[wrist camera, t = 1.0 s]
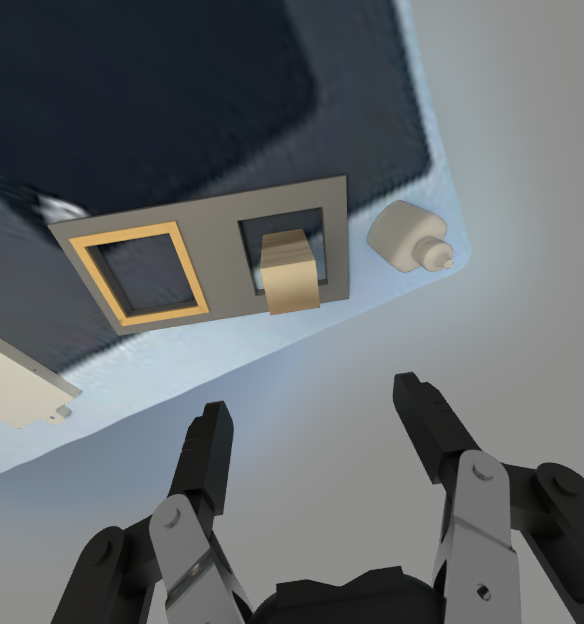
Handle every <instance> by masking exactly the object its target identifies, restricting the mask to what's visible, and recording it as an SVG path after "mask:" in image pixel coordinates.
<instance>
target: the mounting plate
mask: <svg viewBox="0 0 584 624" xmlns="http://www.w3.org/2000/svg"><path fill="white" fill-rule="evenodd" d="M81 391H82V390H80V389H79V388H77V387H75V386H74V385H72V384H71V383H69V382H68V381H66V380H64V379H63V378H61V377H60V376H58V375H57V374H55V373H53V372H52V371H50V370H49V369H47V368H46V367H44V366H42V365H41V364H39V363H38V362H36V361H35V360H33V359H31V358H30V357H28V356H27V355H25V354H24V353H22V352H20V351H19V350H17V349H16V348H14V347H13V346H11V345H9V344H8V343H6V342H5V341H3V340H2V339H0V420H2V421H4V422H6V423H8V424H10V425H12V426H14V427H16V428H18V429H20V428H22V427H24V426H25V425H27V424H29V423H31V422H33V421H35V420H37V419H41V420H45V421H47V422H49V423H51V424H59V423H61V422H63V421H64V420H65V419H66V418H67V417H68V415H69V414H70V413H71V409H70V408H68V407H66V406H65V405H64V404H66V403H68V402H70V401H72V400H73V399H75V398H76V397H77V396H78V394H79V393H80V392H81Z"/></svg>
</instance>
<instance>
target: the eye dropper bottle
mask: <svg viewBox="0 0 584 624" xmlns="http://www.w3.org/2000/svg"><path fill="white" fill-rule="evenodd" d="M446 231H447V224H446V222H445V221H444V220H443V219H442V218H440V217H439V216H438V215H436V214H435V213H433V212H430V211H428V210H425V209H423V208H420V207H417V206H415V205H412V204H409V203H407V202H404V201H401V200H399V201H396V202H394V203H392V204H391V205H390V206H388V207H387V208H386V209H385V210H384V211H383V212H382V213H381V214H380V215H379V216H378V217H377V219H376V220H375V222H374V223H373V225H372V227H371V229H370V231H369V234H368V237H367V243H368V244H369V246H370V247H372V248H373V249H374V250H375V251H376V252H377V253H378V254H379V255H380V256H381V257H382V258H383V259H384V260H385V261H387V262H388V263H389V264H390V265H391V266H393V267H394V268H395V269H397V270H398V271H400V272H403V273H407V272H410V271H412V270H414V269H416V268H418V267H420V266H422V267H424V268H425V269H426V270H428V271H432V272H434V271H439V270H442V269H443V268H446V269H449V268H451V267H452V266H453V261H452V257H453V249H452V247H451V245H449V244H448V243H446V242H444V241H443V239H444V237H445V234H446Z"/></svg>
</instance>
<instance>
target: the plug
mask: <svg viewBox="0 0 584 624" xmlns="http://www.w3.org/2000/svg"><path fill="white" fill-rule="evenodd" d="M260 271H261V276H262V280H263V285H264V289H265V293H266V298H267V302H268V307H269V311H270V315H276V314H282V313H288V312H294V311H301V310H307V309H313V308H320V302H319V291H318V281H317V271H316V260H315V258H314V255H313V253H312V251H311V248H310V246H309V243H308V241H307V239H306V236H305V234H304V232H303V229H296V230H289V231H283V232H277V233H271V234H265V235H263V240H262V252H261V263H260Z"/></svg>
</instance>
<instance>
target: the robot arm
mask: <svg viewBox="0 0 584 624" xmlns="http://www.w3.org/2000/svg"><path fill="white" fill-rule="evenodd" d="M393 402H394V405H395V408H396V411H397V413H398V415H399V417H400V419H401V421H402V423H403V425H404V427H405V429H406V431H407V433H408V435H409V437H410V439H411V441H412V443H413V445H414V447H415V449H416V452H417V454H418V456H419V458H420V460H421V462H422V464H423V466H424V468H425V470H426V472H427V474H428V476H429V478H430V480H431V482H432V484H433V485H434V484H440V483H442V485H443V487H444V488H445V490H446V497H445V504H444V511H443V519H442V525H441V532H440V539H439V546H438V551H437V555H436V559H435V564H434V569H433V575H432V582H431V586H429V585H428V584H426V583H425V582H423V581H421V580H419V579H417V578H415V577H412V576H410V575H406V574H403V571H402V568H401V566H396V567H389V568H382V569H376V570H370V571H368V572H366V573H364V574H363V575H361V576H359V577H357V578H355V579H354V580H352V581H350V582H349V583H347V584H345V585H343V586H333V585H329V584H325V583H320V582H316V581H312V580H307V579H306V580H299V581H292V582H285V583H279V584H276V591H277V592H276V593H274V594H272V595H271V596H270V597H269V598H267V599H266V600H265V601H264V602H263V603H262V604H261V605H260V606H259V607H258V608H257V610H256V611H254V610H253V607H252V605H251V603H250V601H249V599H248V597H247V596H246V594H245V592H244V590H243V588H242V587H241V585H240V583H239V581H238V580H237V578H236V576H235V574H234V573H233V571H232V568H231V566H230V564H229V562H228V560H227V558H226V556H225V554H224V552H223V550H222V548H221V546H220V544H219V542H218V540H217V538H216V536H215V534H214V532H213V530H212V526H213V519H214V516H218V515H223V510H224V502H225V495H226V487H227V479H228V471H229V464H230V456H231V448H232V441H233V432H234V427H233V421H232V418H231V416H230V414H229V411H228V409H227V407H226V405H225V402H224V401H218V402H211V403H207V404H206V406H205V408H204V412H203V416H200V417H196V418H195V419H194V421H193V422H192V424H191V425H190V426H189V428H188V431H187V434H186V437H185V443H184V444H183V448H182V453H181V454H180V458H179V461H178V464H177V468H176V471H175V474H174V478H173V481H172V485H171V488H170V491H169V494H168V496H167V498H166V499H165V500H164V501H163V502H162V503H161V504H160V505H159V506H158V507H157V508H156V510H155V512H154V513H153V514H152V515H150V516H149V517H147V518H146V519H143V520H142V521H140V522H138V523H136V524H134V525H132V526H130V527H128V528H126V529H125V530H122V529H120V528H119V527H116V526H110V527H107V528H105V529H103V530H102V531H100V532H99V533H97V534H96V535H95V536H94V537H93V538H92V539H91V540H90V541H89V542H88V544H87V545H86V546H85V548H84V550H83V551H82V553H81V555H80V557H79V559H78V561H77V563H76V566H75V568H74V570H73V573H72V575H71V577H70V580H69V582H68V584H67V587H66V589H65V591H64V594H63V596H62V598H61V601H60V603H59V605H58V608H57V610H56V612H55V615H54V617H53V619H52V622H51V624H146V623H147V618H148V614H149V609H150V605H151V601H152V596H153V592H154V587H155V583H156V582H158V581H160V580H161V579H163V580H164V583H165V587H166V590H167V595H168V597H167V600H166V602H165V608H166V614H167V618H168V622H169V624H521V602H520V578H519V562H518V557H517V553H516V552H515V550H513V548H512V545H511V529H514V530H519V531H520V532H521V533H522V535H523V537H524V538H525V540H526V541H527V543H528V545H529V546H530V548H531V550H532V551H533V553H534V555H535V556H536V558H537V560H538V561H539V563H540V564H541V566H542V568H543V569H544V571H545V573H546V575H547V576H548V578H549V579H550V581H551V583H552V584H553V586H554V588H555V589H556V591H557V593H558V594H559V596H560V597H561V599H562V601H563V602H564V604H565V606H566V607H567V609H568V611H569V612H570V614H571V616H572V617H573V619H574V621H575V622H576V624H584V478H583V477H582V476H581V475H579V474H578V473H576V472H575V471H573V470H571V469H569V468H568V467H565V466H563V465H560V464H557V463H543V464H541V465H539V466H538V468H537V469H530V468H524V467H519V466H513V465H507V464H504V463H501V462H499V461H498V460H497V459H495V458H494V457H493V456H491V455H489V454H487V453H485V452H483V451H482V450H481V449H480V448H479V446H478V445H477V444H476V442H475V441H474V440H473V438H472V437H471V435H470V434H469V432H468V431H467V430H466V428H465V427H464V425H463V424H462V423H461V421H460V420H459V418H458V417H457V415H456V414H455V413H454V412H453V411H452V409H451V407H450V406H449V404H448V403H447V402H446V400H445V399H444V397H443V396H442V394H441V393H440V392H439V390H438V389H436V388H435V387H434V386H432V385H431V384H430V383H428V382H423V383H421V382H420V381H419V379H418V378H417V376H416V375H415V374H414V373H413V372H408V373H401V374H396V375H395V378H394V388H393Z"/></svg>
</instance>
